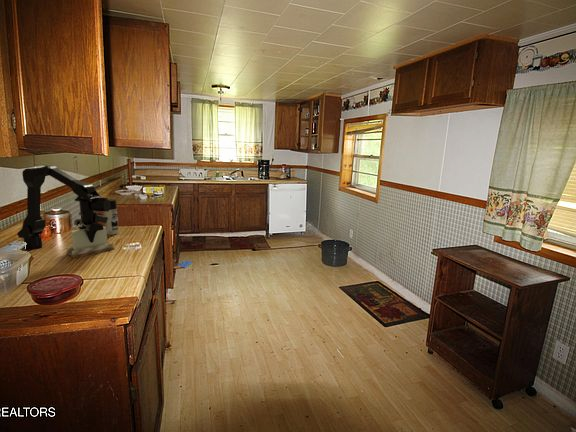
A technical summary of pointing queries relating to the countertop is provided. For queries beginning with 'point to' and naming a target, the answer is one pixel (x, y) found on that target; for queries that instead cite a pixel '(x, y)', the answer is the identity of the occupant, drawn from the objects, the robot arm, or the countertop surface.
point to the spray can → (112, 219)
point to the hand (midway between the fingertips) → (90, 241)
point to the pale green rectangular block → (83, 242)
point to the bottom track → (89, 250)
